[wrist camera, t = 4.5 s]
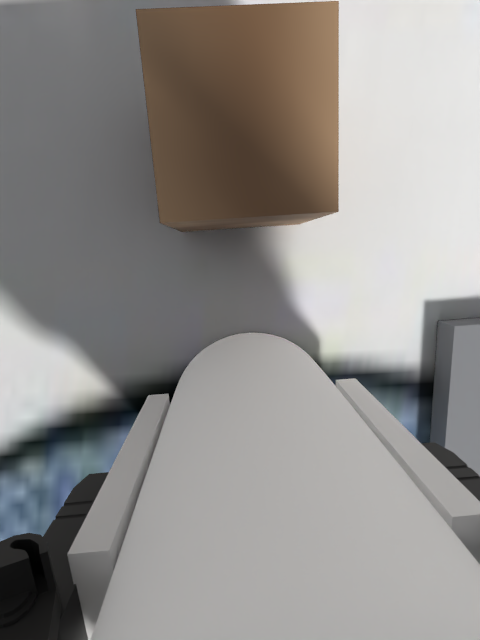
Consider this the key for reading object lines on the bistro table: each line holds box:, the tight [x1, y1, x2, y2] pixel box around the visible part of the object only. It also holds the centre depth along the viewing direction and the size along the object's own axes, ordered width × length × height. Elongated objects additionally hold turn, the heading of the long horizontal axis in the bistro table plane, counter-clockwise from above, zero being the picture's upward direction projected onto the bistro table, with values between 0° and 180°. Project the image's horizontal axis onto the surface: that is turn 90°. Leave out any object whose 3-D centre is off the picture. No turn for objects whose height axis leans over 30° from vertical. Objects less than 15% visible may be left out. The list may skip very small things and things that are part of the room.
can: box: [91, 333, 480, 640], centre depth 8 cm, size 6×6×12 cm
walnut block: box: [136, 1, 339, 232], centre depth 10 cm, size 4×4×4 cm
